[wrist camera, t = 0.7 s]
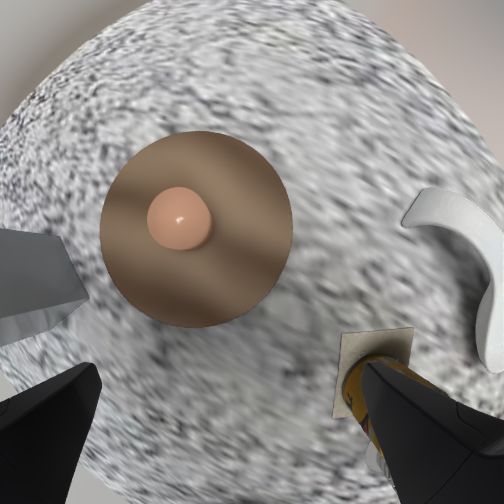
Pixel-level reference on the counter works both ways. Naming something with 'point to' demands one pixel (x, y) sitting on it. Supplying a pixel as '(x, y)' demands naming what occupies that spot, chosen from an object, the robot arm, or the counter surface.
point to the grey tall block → (35, 284)
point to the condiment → (351, 369)
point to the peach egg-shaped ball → (180, 220)
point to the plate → (221, 242)
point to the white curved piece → (489, 248)
